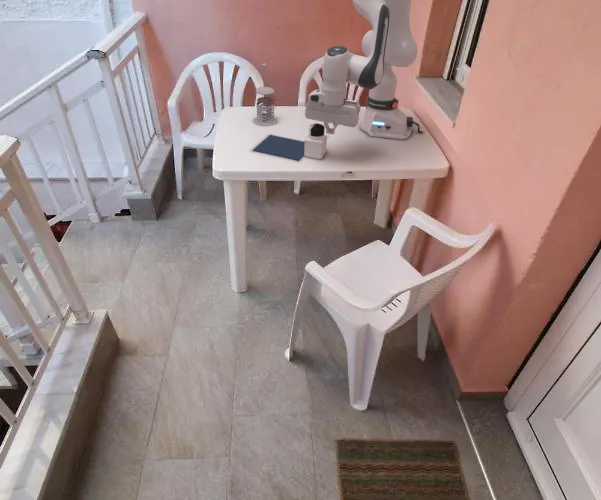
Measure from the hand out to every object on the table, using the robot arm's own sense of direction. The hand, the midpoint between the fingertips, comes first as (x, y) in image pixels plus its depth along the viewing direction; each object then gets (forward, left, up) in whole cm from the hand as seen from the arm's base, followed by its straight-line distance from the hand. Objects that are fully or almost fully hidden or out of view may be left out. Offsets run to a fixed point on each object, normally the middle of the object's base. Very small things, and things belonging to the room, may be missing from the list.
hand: (330, 133), depth 157 cm
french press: (+38, -22, -10) cm, 45 cm away
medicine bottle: (+6, 0, -10) cm, 12 cm away
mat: (+19, 0, -10) cm, 22 cm away
